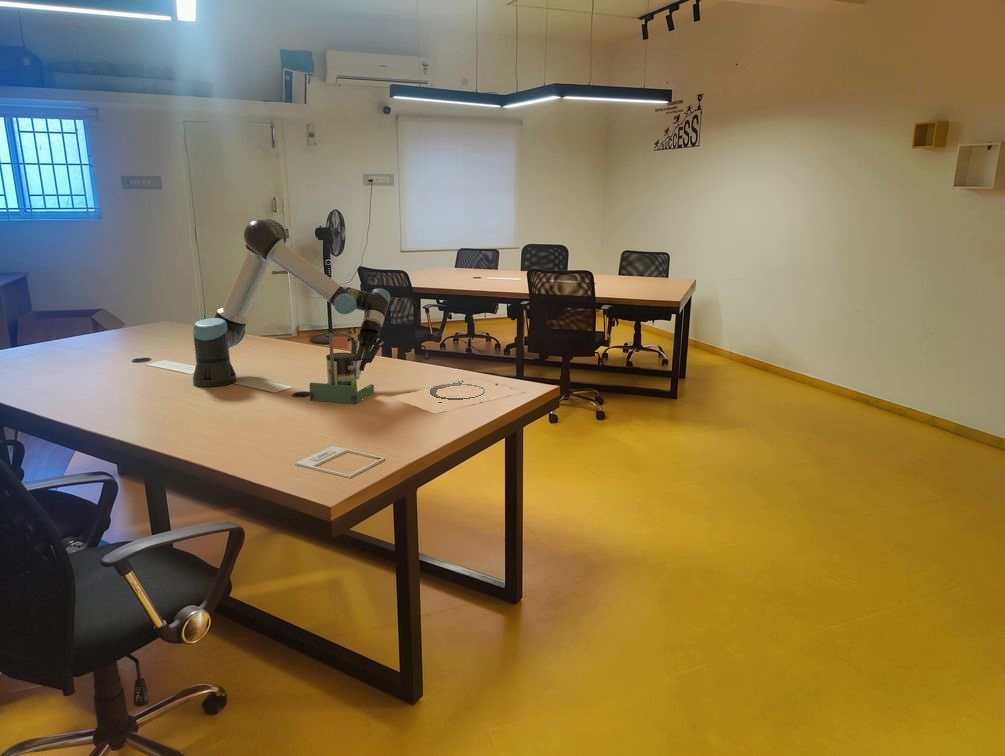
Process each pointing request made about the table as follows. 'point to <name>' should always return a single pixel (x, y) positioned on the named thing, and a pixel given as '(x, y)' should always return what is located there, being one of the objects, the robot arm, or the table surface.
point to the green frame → (332, 390)
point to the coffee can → (343, 369)
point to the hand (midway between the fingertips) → (355, 377)
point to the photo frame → (329, 454)
